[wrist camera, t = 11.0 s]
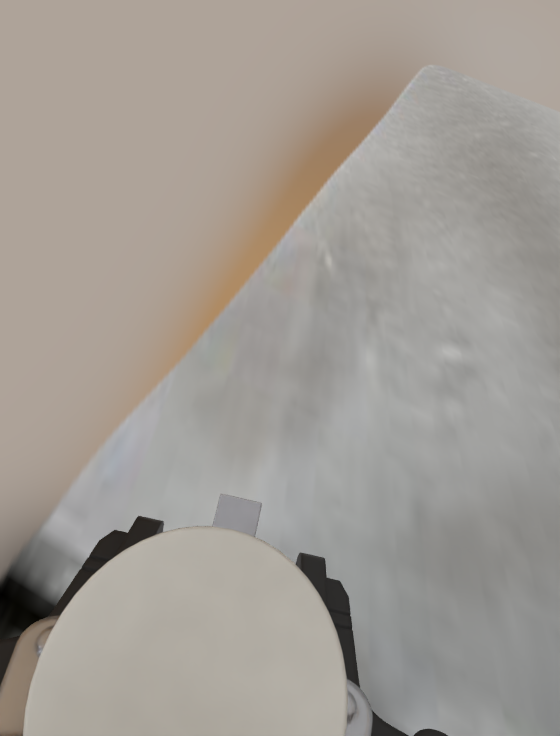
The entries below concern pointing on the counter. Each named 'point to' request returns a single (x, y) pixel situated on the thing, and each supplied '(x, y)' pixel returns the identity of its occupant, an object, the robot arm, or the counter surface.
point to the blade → (193, 643)
